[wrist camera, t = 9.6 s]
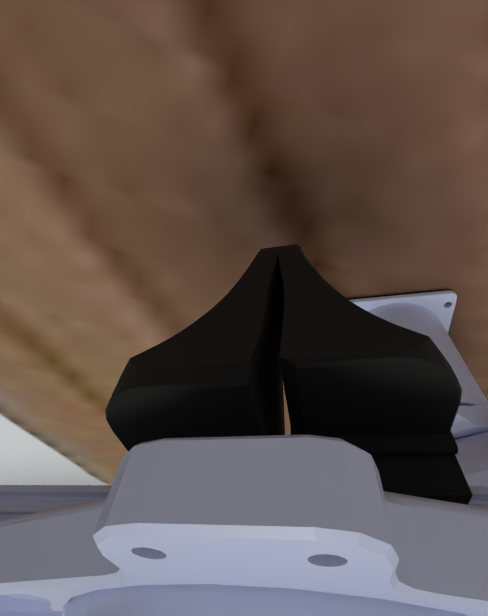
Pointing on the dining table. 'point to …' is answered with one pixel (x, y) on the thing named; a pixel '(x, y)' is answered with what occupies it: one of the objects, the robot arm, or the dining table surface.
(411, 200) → the dining table surface
